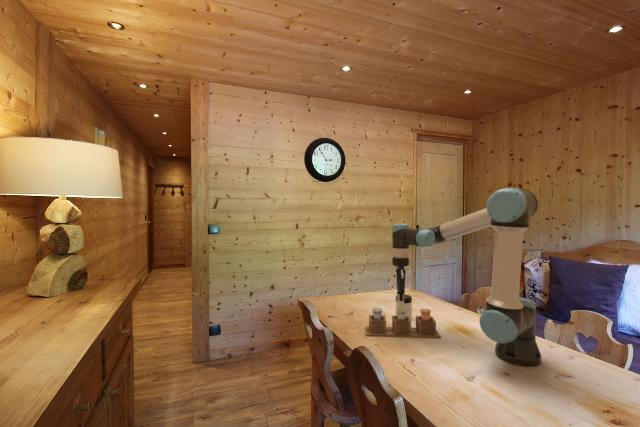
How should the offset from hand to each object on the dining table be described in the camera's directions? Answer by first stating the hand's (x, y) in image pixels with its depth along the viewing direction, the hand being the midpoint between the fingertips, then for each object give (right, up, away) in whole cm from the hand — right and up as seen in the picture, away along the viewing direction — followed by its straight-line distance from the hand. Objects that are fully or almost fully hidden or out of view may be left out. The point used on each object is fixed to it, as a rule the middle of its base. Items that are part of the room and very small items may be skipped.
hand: (400, 307), depth 148 cm
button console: (0, -12, 0) cm, 12 cm away
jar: (+6, -12, +18) cm, 23 cm away
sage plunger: (0, -8, 0) cm, 8 cm away
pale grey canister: (-11, -8, +1) cm, 13 cm away
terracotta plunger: (+11, -8, -1) cm, 14 cm away
